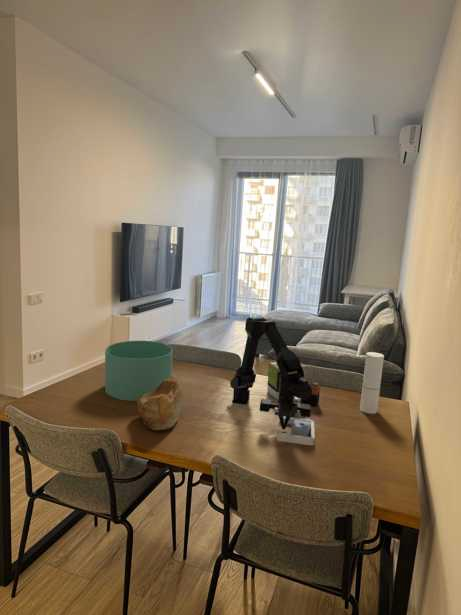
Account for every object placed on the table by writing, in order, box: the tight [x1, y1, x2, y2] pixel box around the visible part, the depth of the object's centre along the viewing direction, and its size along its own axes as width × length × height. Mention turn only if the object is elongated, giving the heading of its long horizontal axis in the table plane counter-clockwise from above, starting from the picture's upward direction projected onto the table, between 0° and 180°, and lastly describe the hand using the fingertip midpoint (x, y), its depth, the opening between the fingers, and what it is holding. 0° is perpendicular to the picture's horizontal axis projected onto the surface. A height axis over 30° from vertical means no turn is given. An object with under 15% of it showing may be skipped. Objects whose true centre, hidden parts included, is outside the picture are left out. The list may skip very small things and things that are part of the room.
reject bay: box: [276, 416, 316, 447], centre depth 158 cm, size 13×16×2 cm
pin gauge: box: [294, 397, 301, 407], centre depth 170 cm, size 3×3×8 cm
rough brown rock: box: [136, 375, 183, 431], centre depth 161 cm, size 23×17×15 cm
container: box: [104, 340, 174, 402], centre depth 191 cm, size 30×30×19 cm
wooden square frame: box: [294, 412, 307, 419], centre depth 170 cm, size 8×8×4 cm
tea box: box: [266, 361, 308, 400], centre depth 194 cm, size 15×10×15 cm, turn 108°
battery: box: [300, 380, 321, 408], centre depth 185 cm, size 4×7×10 cm, turn 61°
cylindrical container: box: [359, 351, 385, 415], centre depth 181 cm, size 7×7×25 cm
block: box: [290, 419, 311, 437], centre depth 156 cm, size 6×6×4 cm
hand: (283, 429), depth 159 cm, fingers closed
